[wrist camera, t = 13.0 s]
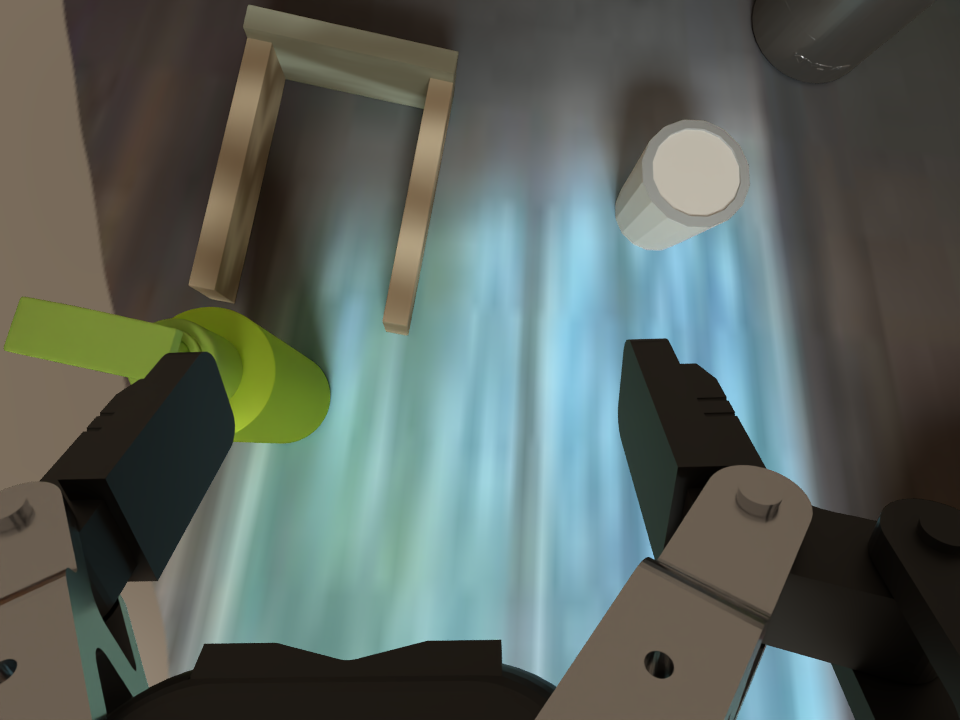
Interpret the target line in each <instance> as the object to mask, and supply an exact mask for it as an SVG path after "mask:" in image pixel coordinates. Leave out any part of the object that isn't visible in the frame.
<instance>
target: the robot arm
mask: <svg viewBox="0 0 960 720" xmlns="http://www.w3.org/2000/svg"><path fill="white" fill-rule="evenodd" d="M935 1H936V0H756V2H755V5H754V8H753V16H752V22H753V31H754V35H755V38H756V41H757V44H758V45H759V47H760V49H761V51H762V53H763V54H764V56H765V57H766V58H767V59H768V61H769V62H770V63H771V64H772V65H773V66H774V67H776V68H777V69H778V70H779V71H780V72H782V73H784V74H785V75H787V76H789V77H791V78H793V79H796V80H799V81H802V82H807V83H815V84H816V83H827V82H831V81H834V80H837V79H839V78H841V77H842V76H844V75H846V74H847V73H849V72H850V71H851V70H852V69H854V68H855V67H856V66H857V65H858V64H860V63H861V62H862V61H863V60H864V59H866V58H867V57H868V56H869V55H871V54H872V53H873V52H874V51H875V50H877V49H878V48H879V47H880V46H881V45H883V44H884V43H885V42H887V41H888V40H889V39H890V38H892V37H893V36H894V35H895V34H896V33H898V32H899V31H900V30H901V29H902V28H904V27H905V26H906V25H907V24H909V23H910V22H911V21H912V20H913V19H915V18H916V17H917V16H918V15H919V14H921V13H922V12H923V11H924V10H926V9H927V8H928V7H929V6H930V5H932V4H933V3H934V2H935ZM618 423H619V432H620V437H621V441H622V444H623V448H624V451H625V455H626V459H627V462H628V466H629V469H630V473H631V476H632V480H633V484H634V487H635V491H636V494H637V498H638V501H639V505H640V508H641V512H642V516H643V519H644V523H645V526H646V530H647V533H648V537H649V540H650V544H651V548H652V551H653V555H654V558H655V560H654V559H652V558H650V557H647V558H645V559H644V560H643V561H642V562H641V563H640V564H639V565H638V567H637V568H636V569H635V571H634V572H633V574H632V575H631V577H630V578H629V580H628V581H627V583H626V584H625V586H624V587H623V589H622V590H621V592H620V593H619V595H618V596H617V598H616V599H615V601H614V602H613V604H612V605H611V607H610V608H609V610H608V611H607V613H606V614H605V616H604V617H603V619H602V620H601V621H600V623H599V624H598V626H597V627H596V629H595V630H594V632H593V633H592V635H591V636H590V638H589V639H588V641H587V642H586V644H585V645H584V647H583V648H582V650H581V651H580V653H579V654H578V656H577V657H576V659H575V660H574V662H573V663H572V665H571V666H570V668H569V669H568V671H567V672H566V674H565V675H564V677H563V678H562V680H561V681H560V683H559V684H558V686H557V687H556V686H554V685H553V684H551V683H550V682H548V681H546V680H544V679H542V678H541V677H539V676H537V675H535V674H532V673H530V672H527V671H525V670H522V669H520V668H517V667H513V666H509V665H506V664H502V646H501V640H456V641H425V642H421V643H417V644H413V645H409V646H405V647H402V648H398V649H394V650H390V651H386V652H382V653H378V654H374V655H370V656H367V657H363V658H359V659H354V660H340V659H336V658H332V657H329V656H325V655H321V654H317V653H313V652H309V651H306V650H302V649H298V648H294V647H290V646H286V645H283V644H279V643H229V644H204V646H203V648H202V651H201V653H200V655H199V658H198V660H197V662H196V665H195V667H194V669H193V670H191V671H187V672H184V673H182V674H179V675H176V676H174V677H171V678H168V679H166V680H164V681H162V682H160V683H158V684H156V685H154V686H152V687H148V683H147V680H146V677H145V673H144V669H143V666H142V662H141V658H140V654H139V651H138V647H137V644H136V640H135V636H134V633H133V629H132V625H131V621H130V618H129V614H128V611H127V607H126V605H125V602H124V600H123V598H122V597H121V595H120V593H121V592H122V590H123V588H124V587H125V585H126V583H127V582H129V581H158V579H159V578H160V576H161V574H162V572H163V570H164V568H165V567H166V565H167V563H168V561H169V559H170V557H171V556H172V554H173V552H174V550H175V548H176V546H177V545H178V543H179V541H180V539H181V537H182V536H183V534H184V532H185V530H186V528H187V526H188V525H189V523H190V521H191V519H192V517H193V515H194V514H195V512H196V510H197V508H198V506H199V504H200V503H201V501H202V499H203V497H204V495H205V493H206V492H207V490H208V488H209V486H210V484H211V482H212V481H213V479H214V477H215V475H216V473H217V472H218V470H219V468H220V466H221V464H222V462H223V461H224V459H225V457H226V455H227V453H228V451H229V450H230V448H231V446H232V443H233V440H234V435H235V420H234V415H233V411H232V408H231V405H230V402H229V399H228V396H227V393H226V390H225V387H224V384H223V381H222V378H221V375H220V372H219V369H218V366H217V363H216V361H215V359H214V357H213V356H212V354H210V353H209V352H176V353H167V354H165V355H164V356H163V357H162V358H161V359H160V360H159V361H158V362H157V364H156V365H155V366H154V367H153V368H152V370H151V371H150V372H149V373H148V374H147V375H146V377H145V378H144V379H139V380H138V381H136V382H135V383H133V384H132V385H130V386H129V387H127V388H126V389H124V390H122V391H121V392H120V393H118V394H116V395H115V397H114V398H113V399H112V400H111V401H110V402H109V403H108V404H107V406H106V407H105V408H104V409H103V410H102V411H101V412H100V416H98V417H96V418H95V419H94V420H93V421H92V422H91V424H90V425H89V426H88V427H87V432H83V433H82V434H81V435H80V436H79V437H78V438H77V439H76V440H75V442H74V443H73V444H72V445H71V446H70V447H69V449H67V451H66V452H65V453H64V454H63V455H62V456H61V457H60V459H59V460H58V461H57V462H56V463H55V464H54V465H53V466H52V468H51V469H50V470H49V471H48V472H47V473H46V474H45V475H44V477H43V478H42V479H41V480H40V481H39V482H28V483H23V484H19V485H15V486H12V487H9V488H6V489H4V490H1V491H0V720H736V718H737V716H738V714H739V711H740V709H741V706H742V704H743V701H744V699H745V697H746V694H747V692H748V689H749V687H750V684H751V682H752V679H753V677H754V675H755V672H756V670H757V667H758V665H759V662H760V660H761V658H762V655H763V653H764V650H765V648H766V645H769V646H773V647H776V648H780V649H783V650H787V651H790V652H794V653H797V654H801V655H804V656H808V657H812V658H815V659H819V660H822V661H826V662H829V663H831V664H832V666H833V669H834V671H835V673H836V676H837V678H838V680H839V683H840V685H841V687H842V690H843V692H844V694H845V697H846V699H847V701H848V704H849V706H850V708H851V711H852V713H853V715H854V718H855V720H960V510H957V509H955V508H953V507H950V506H948V505H945V504H942V503H938V502H934V501H929V500H924V499H902V500H897V501H894V502H892V503H890V504H888V505H887V506H885V508H884V509H883V510H882V512H881V514H880V516H879V519H878V521H874V520H869V519H865V518H860V517H855V516H850V515H846V514H841V513H836V512H832V511H828V510H824V509H820V508H818V507H815V506H812V505H811V502H810V500H809V499H808V497H807V495H806V494H805V493H804V492H803V490H802V489H801V488H800V487H799V486H798V485H796V484H795V483H794V482H792V481H791V480H790V479H788V478H786V477H785V476H783V475H781V474H779V473H776V472H774V471H772V470H768V469H766V467H765V465H764V464H763V462H762V460H761V458H760V456H759V455H758V453H757V451H756V449H755V447H754V446H753V444H752V442H751V440H750V438H749V437H748V435H747V433H746V431H745V429H744V428H743V426H742V424H741V422H740V420H739V419H738V417H737V416H735V411H734V410H733V408H732V406H731V404H730V402H729V401H727V400H726V395H725V394H724V392H723V390H722V388H721V386H720V385H719V383H718V381H717V379H716V378H715V377H713V376H712V375H711V374H709V373H708V372H707V371H705V370H704V369H703V368H702V367H700V366H699V365H698V364H680V363H679V361H678V359H677V357H676V355H675V353H674V351H673V348H672V346H671V344H670V342H669V341H668V339H666V338H664V339H632V340H627V341H626V342H625V346H624V352H623V362H622V372H621V383H620V393H619V403H618Z"/></svg>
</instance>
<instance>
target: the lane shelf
mask: <svg viewBox="0 0 960 720" xmlns="http://www.w3.org/2000/svg"><path fill="white" fill-rule="evenodd" d="M243 28H244V30H245V33H246V35H247V37H248V38H247V42H246V46H245V50H244V55H243V59H242V63H241V67H240V71H239V76H238V80H237V84H236V88H235V92H234V97H233V101H232V105H231V109H230V113H229V118H228V122H227V126H226V130H225V134H224V138H223V143H222V147H221V151H220V155H219V159H218V164H217V168H216V172H215V176H214V180H213V185H212V189H211V193H210V197H209V201H208V206H207V210H206V214H205V218H204V222H203V227H202V231H201V235H200V239H199V243H198V247H197V252H196V256H195V260H194V264H193V268H192V273H191V277H190V281H189V286H191V287H192V288H194V289H196V290H197V291H199V292H201V293H202V294H204V295H205V296H207V297H209V298H210V299H213V300H218V301H224V302H229V303H235V300H236V295H237V291H238V287H239V282H240V278H241V273H242V269H243V265H244V260H245V256H246V251H247V247H248V243H249V238H250V234H251V229H252V225H253V221H254V216H255V212H256V208H257V203H258V199H259V194H260V190H261V186H262V181H263V177H264V172H265V168H266V164H267V159H268V155H269V150H270V146H271V142H272V137H273V133H274V129H275V124H276V120H277V115H278V111H279V107H280V102H281V98H282V93H283V89H284V85H285V80H286V79H287V80H292V81H296V82H301V83H306V84H310V85H315V86H319V87H324V88H329V89H333V90H338V91H343V92H347V93H352V94H356V95H361V96H366V97H370V98H375V99H380V100H384V101H389V102H393V103H398V104H403V105H407V106H412V107H417V108H421V109H424V112H423V117H422V122H421V127H420V132H419V137H418V142H417V148H416V153H415V158H414V163H413V168H412V173H411V178H410V183H409V188H408V194H407V199H406V204H405V209H404V214H403V219H402V224H401V229H400V235H399V240H398V245H397V250H396V255H395V260H394V265H393V270H392V275H391V281H390V286H389V291H388V296H387V301H386V306H385V311H384V316H383V324H384V327H385V330H386V332H391V333H396V334H402V335H407V336H408V334H409V329H410V323H411V318H412V313H413V307H414V302H415V297H416V292H417V286H418V281H419V276H420V271H421V265H422V260H423V255H424V249H425V244H426V239H427V234H428V228H429V223H430V218H431V212H432V207H433V202H434V197H435V191H436V186H437V181H438V176H439V170H440V165H441V160H442V154H443V149H444V144H445V139H446V133H447V128H448V123H449V117H450V112H451V107H452V102H453V96H454V88H455V79H456V70H457V60H458V52H457V51H452V50H448V49H444V48H439V47H435V46H430V45H426V44H421V43H417V42H412V41H408V40H404V39H399V38H395V37H390V36H386V35H381V34H377V33H372V32H368V31H364V30H359V29H355V28H350V27H346V26H341V25H337V24H332V23H328V22H324V21H319V20H315V19H310V18H306V17H301V16H297V15H292V14H288V13H284V12H279V11H275V10H270V9H266V8H261V7H257V6H252V5H248V8H247V12H246V17H245V21H244V25H243Z"/></svg>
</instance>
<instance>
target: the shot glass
mask: <svg viewBox="0 0 960 720" xmlns="http://www.w3.org/2000/svg"><path fill="white" fill-rule="evenodd" d="M749 186H750V181H749V164H748V162H747V160H746V158H745V156H744V153H743V151H742V149H741V147H740V145H739V144H738V143H737V142H736V141H735V140H734V139H733V138H732V137H731V136H730V135H729V134H728V133H727V132H726V131H725V130H724V129H722V128H720V127H717V126H715V125H713V124H711V123H709V122H706V121H701V120H681V121H678V122H676V123H673V124H670V125H667V126H665V127H663V128H662V129H661V130H660V131H659V132H658V133H657V134H656V135H655V136H654V137H653V138H652V139H651V140H650V141H649V143H648V145H647V146H646V148H645V150H644V151H643V153H642V155H641V156H640V158H639V160H638V162H637V163H636V165H635V167H634V168H633V170H632V172H631V174H630V175H629V177H628V179H627V180H626V182H625V184H624V185H623V187H622V189H621V191H620V193H619V196H618V198H617V201H616V203H615V214H616V221H617V223H618V225H619V228H620V230H621V232H622V234H623V235H624V236H625V237H626V238H627V239H628V240H629V241H630V242H631V243H632V244H634V245H636V246H639V247H641V248H643V249H646V250H664V249H666V248H669V247H671V246H674V245H676V244H678V243H680V242H683V241H685V240H687V239H689V238H691V237H693V236H695V235H697V234H699V233H702V232H704V231H706V230H708V229H710V228H712V227H714V226H716V225H718V224H721V223H723V222H725V221H727V220H729V219H730V218H731V217H732V216H733V215H734V214H735V213H736V212H737V211H738V209H739V208H740V207H741V206H742V205H743V203H744V200H745V197H746V195H747V192H748V189H749Z"/></svg>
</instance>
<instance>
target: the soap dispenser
mask: <svg viewBox="0 0 960 720" xmlns="http://www.w3.org/2000/svg"><path fill="white" fill-rule="evenodd" d="M4 350H5V351H8V352H13V353H17V354H22V355H26V356H31V357H36V358H41V359H46V360H50V361H54V362H59V363H63V364H68V365H73V366H77V367H82V368H87V369H92V370H96V371H101V372H105V373H110V374H115V375H119V376H124V377H128V379H129V382H130V384H131V385H132V384H133V383H135V382H136V381H138V380H139V379H144V378H145V377H146V375H147V374H148V373H149V372H150V371H151V370H152V368H153V367H154V366H155V365H156V364H157V362H158V361H159V360H160V359H161V358H162V357H163V356H164V355H165V354H167V353H176V352H209V353H210V354H212V356H213V357H214V359H215V361H216V363H217V366H218V369H219V372H220V375H221V378H222V381H223V384H224V387H225V390H226V393H227V396H228V399H229V402H230V405H231V408H232V411H233V415H234V420H235V435H234V440H233V442H254V443H291V442H295V441H298V440H301V439H303V438H305V437H307V436H308V435H310V434H311V433H313V432H314V431H315V430H316V429H317V428H318V427H319V426H320V424H321V423H322V422H323V420H324V418H325V416H326V414H327V412H328V409H329V405H330V388H329V384H328V381H327V378H326V376H325V375H324V373H323V371H322V370H321V369H320V368H319V366H318V365H316V364H315V363H314V362H313V361H311V360H310V359H308V358H307V357H305V356H304V355H302V354H301V353H299V352H298V351H296V350H295V349H293V348H292V347H290V346H289V345H287V344H286V343H284V342H283V341H281V340H280V339H278V338H277V337H275V336H274V335H272V334H271V333H269V332H268V331H266V330H265V329H263V328H262V327H260V326H259V325H257V324H256V323H254V322H253V321H251V320H250V319H248V318H247V317H245V316H243V315H242V314H239V313H237V312H235V311H232V310H229V309H224V308H217V307H204V308H197V309H192V310H189V311H186V312H183V313H181V314H179V315H177V316H175V317H173V318H171V319H164V320H160V321H157V322H154V323H150V322H145V321H141V320H136V319H132V318H127V317H123V316H118V315H114V314H109V313H105V312H100V311H95V310H91V309H86V308H81V307H77V306H71V305H67V304H62V303H56V302H51V301H45V300H40V299H35V298H29V297H21V298H20V301H19V304H18V306H17V309H16V312H15V315H14V318H13V321H12V324H11V327H10V330H9V333H8V336H7V339H6V342H5V345H4Z"/></svg>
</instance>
